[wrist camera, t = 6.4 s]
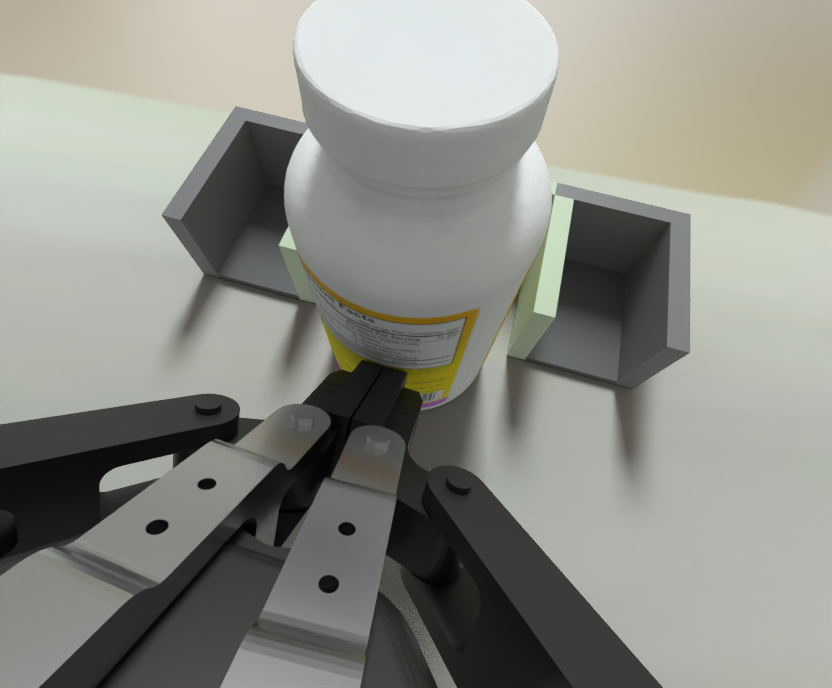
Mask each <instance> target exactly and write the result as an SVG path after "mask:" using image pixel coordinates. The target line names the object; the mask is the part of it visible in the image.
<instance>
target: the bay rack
mask: <svg viewBox="0 0 832 688" xmlns="http://www.w3.org/2000/svg"><path fill="white" fill-rule="evenodd" d="M307 129H308V126H307V123H304V122H300V121H295V120H291V119H287V118H283V117H279V116H274V115H270V114H266V113H262V112H258V111H253V110H249V109H245V108H240V107H235V108H234V110H233V111H232V113H231V114H230V115H229V117H228V118H227V120H226V121H225V123H224V124H223V126H222V127H221V129H220V130H219V132H218V133H217V134H216V136H215V137H214V139H213V140H212V142H211V143H210V145H209V146H208V148H207V149H206V151H205V152H204V153H203V155H202V156H201V158H200V159H199V161H198V162H197V164H196V165H195V167H194V168H193V170H192V171H191V172H190V174H189V175H188V177H187V178H186V180H185V181H184V183H183V184H182V186H181V187H180V189H179V190H178V191H177V193H176V194H175V196H174V197H173V199H172V200H171V202H170V203H169V205H168V206H167V208H166V209H165V210H164V212H163V213H162V216H163V218H164V219H165V220H166V222H167V223H168V225H169V226H170V227H171V229H172V230H173V231H174V233H175V234H176V236H177V237H178V238H179V240H180V241H181V243H182V244H183V245H184V247H185V248H186V249H187V251H188V252H189V254H190V255H191V256H192V258H193V259H194V261H195V262H196V263H197V265H198V266H199V267H200V269H201V270H202V272H203V273H204V274H208V275H212V276H215V277H219V278H223V279H226V280H230V281H234V282H238V283H241V284H245V285H249V286H252V287H256V288H260V289H264V290H267V291H271V292H275V293H278V294H282V295H286V296H290V297H293V298H297V299H301V300H304V301H308V302H312V303H316V302H315V300H314V297H313V294H312V291H311V288H310V285H309V282H308V280H307V277H306V274H305V271H304V268H303V266H302V263H301V261H300V258H299V256H298V252H297V250H296V247H295V244H294V241H293V238H292V235H291V232H290V229H289V225H288V222H287V217H286V212H285V206H284V183H285V177H286V172H287V168H288V165H289V162H290V159H291V157H292V154H293V152H294V149H295V147H296V146H297V144H298V142H299V140H300V139H301V137H302V136H303V135H304V133H305V132H306V131H307ZM550 182H551V190H552V207H551V216H550V221H549V225H548V229H547V232H546V235H545V238H544V240H543V243H542V245H541V247H540V249H539V251H538V254H537V256H536V258H535V260H534V262H533V264H532V266H531V268H530V270H529V272H528V274H527V276H526V278H525V280H524V281H523V283H522V285H521V289H520V294H519V299H518V303H517V308H516V313H515V318H514V323H513V328H512V333H511V338H510V343H509V348H508V353H507V355H509V356H512V357H516V358H520V359H523V360H527V361H531V362H535V363H538V364H542V365H546V366H549V367H553V368H557V369H561V370H564V371H568V372H572V373H575V374H579V375H583V376H587V377H590V378H594V379H598V380H601V381H605V382H609V383H613V384H616V385H620V386H624V387H627V388H631V389H633V388H634V387H636V386H638V385H639V384H641V383H642V382H644V381H645V380H647V379H649V378H650V377H652V376H653V375H655V374H657V373H658V372H660V371H661V370H663V369H665V368H666V367H668V366H669V365H671V364H673V363H674V362H676V361H677V360H679V359H680V358H682V357H684V356H685V355H687V354H688V353H690V214H686V213H682V212H678V211H674V210H669V209H665V208H661V207H657V206H653V205H648V204H644V203H640V202H636V201H632V200H627V199H623V198H619V197H615V196H611V195H606V194H602V193H598V192H594V191H590V190H585V189H581V188H577V187H573V186H569V185H564V184H560V183H556V182H552V181H550Z"/></svg>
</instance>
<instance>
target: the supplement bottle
mask: <svg viewBox="0 0 832 688" xmlns="http://www.w3.org/2000/svg"><path fill="white" fill-rule="evenodd" d="M293 55H294V63H295V68H296V73H297V77H298V83H299V88H300V94H301V99H302V109H303V114H304V117H305V120H306V123H307V126H308V129H307V131H306V132H305V133H304V135H303V136H302V137H301V139H300V140H299V142H298V144H297V146H296V147H295V149H294V152H293V154H292V157H291V159H290V162H289V165H288V168H287V172H286V177H285V183H284V206H285V212H286V217H287V222H288V225H289V229H290V232H291V235H292V238H293V241H294V244H295V247H296V250H297V252H298V256H299V258H300V261H301V263H302V266H303V268H304V271H305V274H306V277H307V280H308V282H309V285H310V288H311V291H312V294H313V297H314V300H315V302H316V305H317V308H318V311H319V314H320V317H321V320H322V322H323V325H324V328H325V331H326V334H327V336H328V339H329V342H330V345H331V348H332V351H333V353H334V356H335V359H336V361H337V364H338V366H339V368H340V370H345V371H349V372H352V371H353V370H354V369H355V368H356V366H357V365H358V364H359V363H360V362H361V360H364V361H368V362H371V363H375V364H378V365H382V366H384V368H385V367H389V368H393V369H396V370H400V371H403V372H407V373H408V375H407V380H406V384H405V388H408V389H411V390H414V391H418V392H419V393H420V395H421V397H422V400H423V403H422V407H421V410H427V409H431V408H435V407H438V406H440V405H443V404H445V403H447V402H449V401H451V400H453V399H454V398H456V397H457V396H458V395H460V394H461V393H462V392H463V391H464V390H466V388H467V387H468V386H469V385H470V384H471V383H472V382H473V380H474V379H475V377H476V376H477V374H478V373H479V371H480V369H481V367H482V365H483V363H484V361H485V359H486V357H487V355H488V353H489V351H490V349H491V347H492V345H493V343H494V341H495V339H496V337H497V334H498V332H499V330H500V328H501V326H502V324H503V322H504V320H505V318H506V316H507V314H508V312H509V310H510V308H511V306H512V304H513V302H514V300H515V298H516V296H517V294H518V292H519V290H520V288H521V285H522V283H523V281H524V280H525V278H526V276H527V274H528V272H529V270H530V268H531V266H532V264H533V262H534V260H535V258H536V256H537V254H538V251H539V249H540V247H541V245H542V243H543V240H544V238H545V235H546V232H547V229H548V225H549V221H550V216H551V207H552V190H551V182H550V177H549V173H548V169H547V166H546V163H545V161H544V158H543V156H542V154H541V152H540V150H539V148H538V146H537V144H536V143H535V140H536V138H537V136H538V134H539V132H540V130H541V126H542V123H543V120H544V116H545V113H546V110H547V107H548V103H549V100H550V97H551V94H552V91H553V87H554V84H555V81H556V77H557V73H558V67H559V50H558V45H557V41H556V37H555V35H554V33H553V31H552V29H551V28H550V26H549V24H548V23H547V22H546V20H545V19H544V18H543V16H542V15H541V14H540V13H539V12H538V11H537V10H536V9H535V8H534V7H533V6H531V5H530V4H529V3H528V2H527V1H525V0H316V1H314V2H313V3H312V4H311V6H310V7H309V8H308V9H307V10H306V11H305V13H304V14H303V15H302V17H301V19H300V21H299V22H298V24H297V27H296V31H295V34H294V40H293Z"/></svg>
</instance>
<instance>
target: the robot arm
mask: <svg viewBox="0 0 832 688" xmlns="http://www.w3.org/2000/svg"><path fill="white" fill-rule="evenodd" d="M407 375H408V373H407V372H403V371H400V370H396V369H393V368H389V367H385V368H384V366H382V365H378V364H375V363H371V362H368V361H364V360H361V362H360V363H359V364H358V365H357V366H356V368H355V369H354V370H353V371H352V372H349V371H345V370H339V371H337V372H334V373H331V374H329V375H328V376H327V377H326V379H325V380H324V381H323V383H321V384H320V385H319V386H318V387H317V389H315V390H314V391H313V392H312V394H311V395H310V396H309V397H308V398H307V399H306V400H305V401H304V402H303V403H302V404H292V405H287V406H284V407H281V408H280V409H278V410H277V411H275V412H274V413H273V414H272V415H271V416H269V417H268V418H267V419H266V420H259V419H249V418H239V413H240V407H239V405H238V403H237V402H236V401H234V400H233V399H231V398H229V397H226V396H223V395H217V394H199V395H192V396H186V397H179V398H173V399H166V400H160V401H153V402H146V403H140V404H133V405H127V406H120V407H113V408H107V409H100V410H94V411H87V412H80V413H74V414H67V415H61V416H54V417H47V418H41V419H34V420H28V421H21V422H14V423H8V424H1V425H0V688H438V687H437V685H436V683H435V680H434V678H433V676H432V674H431V671H430V669H429V667H428V665H427V662H426V660H425V658H424V656H423V653H422V651H421V649H420V647H419V644H418V642H417V640H416V638H415V636H414V634H413V632H412V630H411V628H410V627H409V625H408V623H407V622H406V620H405V618H404V617H403V616H402V614H401V613H400V612H399V610H398V609H397V608H396V607H395V606H394V605H393V604H392V603H391V601H390V600H389V599H388V598H387V597H385V596H384V595H383V594H382V593H380V592H379V591H378V589H379V584H380V579H381V574H382V569H383V564H384V559H385V554H386V555H387V556H389V557H390V558H392V559H393V560H395V561H396V562H398V563H399V564H401V565H402V566H401V578H402V581H403V583H404V585H405V587H406V589H407V591H408V593H409V595H410V597H411V599H412V601H413V603H414V605H415V607H416V609H417V610H418V612H419V614H420V616H421V618H422V620H423V622H424V624H425V626H426V628H427V630H428V632H429V634H430V636H431V638H432V640H433V642H434V644H435V645H436V647H437V649H438V651H439V653H440V655H441V657H442V659H443V661H444V663H445V665H446V667H447V669H448V671H449V673H450V675H451V677H452V679H453V680H454V682H455V684H456V686H457V688H663V687H662V686H661V685H660V684H659V683H658V682H657V680H656V679H655V678H654V677H653V676H652V675H651V674H650V672H649V671H648V670H647V669H646V668H645V667H644V666H643V664H642V663H641V662H640V661H639V660H638V659H637V658H636V656H635V655H634V654H633V653H632V652H631V651H630V650H629V648H628V647H627V646H626V645H625V644H624V643H623V642H622V640H621V639H620V638H619V637H618V636H617V635H616V634H615V633H614V631H613V630H612V629H611V628H610V627H609V626H608V625H607V623H606V622H605V621H604V620H603V619H602V618H601V617H600V615H599V614H598V613H597V612H596V611H595V610H594V609H593V607H592V606H591V605H590V604H589V603H588V602H587V601H586V599H585V598H584V597H583V596H582V595H581V594H580V593H579V591H578V590H577V589H576V588H575V587H574V586H573V585H572V583H571V582H570V581H569V580H568V579H567V578H566V577H565V575H564V574H563V573H562V572H561V571H560V570H559V569H558V567H557V566H556V565H555V564H554V563H553V562H552V561H551V559H550V558H549V557H548V556H547V555H546V554H545V553H544V551H543V550H542V549H541V548H540V547H539V546H538V545H537V543H536V542H535V541H534V540H533V539H532V538H531V537H530V536H529V534H528V533H527V532H526V531H525V530H524V529H523V528H522V526H521V525H520V524H519V523H518V522H517V521H516V520H515V518H514V517H513V516H512V515H511V514H510V513H509V512H508V510H507V509H506V508H505V507H504V506H503V505H502V504H501V502H500V501H499V500H498V499H497V498H496V497H495V496H494V494H493V493H492V492H491V491H490V490H489V489H488V488H487V486H486V485H485V484H484V483H483V482H482V481H481V480H480V479H479V478H478V477H477V476H476V475H474V474H473V473H471V472H469V471H467V470H465V469H462V468H459V467H455V466H440V467H437V468H435V469H433V470H432V471H431V472H428V471H426V470H425V469H423V468H421V467H420V466H419V465H417V464H416V463H415V462H414V461H413V460H412V458H411V457H410V455H409V450H410V447H411V444H412V440H413V437H414V433H415V429H416V426H417V422H418V418H419V414H420V411H421V407H422V403H423V400H422V397H421V395H420V393H419V392H418V391H414V390H411V389H408V388H405V384H406V380H407ZM170 454H173V469H172V470H171V471H169V472H168V473H166V474H165V475H164V476H162V477H161V478H158V479H154V480H150V481H146V482H143V483H139V484H135V485H131V486H127V487H124V488H120V489H116V490H112V491H108V492H99V483H100V481H101V479H102V477H103V476H104V475H105V474H106V473H107V472H109V471H110V470H112V469H114V468H116V467H119V466H123V465H127V464H131V463H136V462H140V461H144V460H149V459H153V458H157V457H162V456H166V455H170ZM295 539H296V540H295ZM294 541H295V542H294ZM293 542H294V544H293ZM292 544H293V546H292V548H290V547H291V545H292Z"/></svg>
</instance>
